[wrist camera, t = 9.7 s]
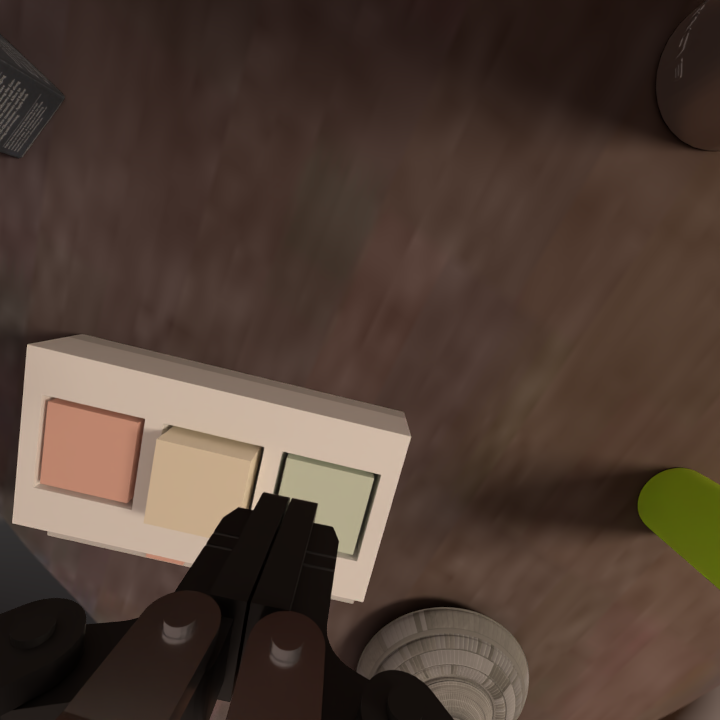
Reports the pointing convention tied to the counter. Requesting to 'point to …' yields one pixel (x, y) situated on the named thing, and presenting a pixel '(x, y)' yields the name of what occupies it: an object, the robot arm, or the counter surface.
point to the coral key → (91, 450)
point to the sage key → (330, 494)
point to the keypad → (203, 414)
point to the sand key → (199, 480)
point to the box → (23, 101)
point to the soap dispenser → (685, 517)
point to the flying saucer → (454, 661)
